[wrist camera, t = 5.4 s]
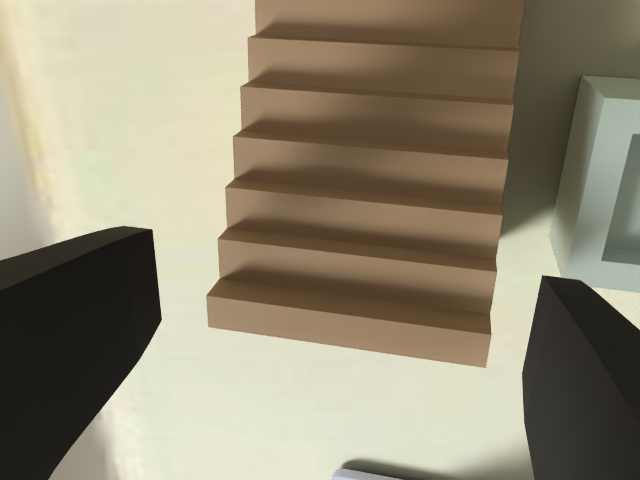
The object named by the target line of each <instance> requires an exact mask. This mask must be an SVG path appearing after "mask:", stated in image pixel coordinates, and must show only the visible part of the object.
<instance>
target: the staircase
mask: <svg viewBox="0 0 640 480" xmlns="http://www.w3.org/2000/svg"><path fill="white" fill-rule="evenodd" d="M524 6H525V0H255V19H256V35H254V36H251V37H248V69H249V82H248V83H246V84H245V85H243V86H241V87H240V91H241V122H242V130H241V131H240V132H239V133H237V134H236V135H235V136H233V152H234V177H235V179H234V180H233V181H232V182H231V183H230V184H228V185H227V186H226V187H225V190H226V212H227V229H226V230H225V231H224V233H223V234H222V235H221V236H220V237H219V238H218V254H219V273H220V279H219V280H218V282H217V283H216V284H215V285H214V287H213V288H212V289H211V291H210V292H209V293H208V294H207V296H206V298H207V313H208V327H212V328H219V329H225V330H232V331H239V332H246V333H252V334H259V335H266V336H273V337H280V338H286V339H293V340H300V341H307V342H313V343H320V344H327V345H334V346H340V347H347V348H354V349H361V350H368V351H374V352H381V353H388V354H395V355H401V356H408V357H415V358H422V359H428V360H435V361H442V362H449V363H456V364H462V365H469V366H476V367H483V368H486V363H487V357H488V351H489V346H490V340H491V323H490V311H491V305H492V299H493V293H494V287H495V281H496V275H497V267H496V254H497V248H498V242H499V236H500V230H501V224H502V218H503V213H502V206H501V204H502V198H503V192H504V186H505V180H506V174H507V167H508V161H509V159H508V154H507V149H508V142H509V136H510V130H511V124H512V117H513V111H514V103H513V100H512V99H513V93H514V87H515V80H516V74H517V68H518V61H519V55H520V51H519V49H518V44H519V38H520V31H521V25H522V19H523V12H524Z"/></svg>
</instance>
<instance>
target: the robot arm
mask: <svg viewBox="0 0 640 480" xmlns="http://www.w3.org/2000/svg"><path fill="white" fill-rule="evenodd" d="M161 320H162V318H161V308H160V298H159V289H158V279H157V270H156V260H155V250H154V241H153V231H152V229H144V228H136V227H127V226H121V227H114V228H109V229H105V230H101V231H97V232H93V233H89V234H86V235H83V236H79V237H76V238H73V239H69V240H66V241H63V242H60V243H56V244H53V245H50V246H47V247H44V248H41V249H38V250H34V251H31V252H28V253H25V254H21V255H19V256H15V257H11V258H8V259H4V260H1V261H0V480H48V479H49V478H50V476H51V474H52V473H53V471H54V470H55V468H56V467H57V465H58V464H59V463H60V461H61V460H62V459H63V457H64V456H65V454H66V453H67V452H68V450H69V449H70V448H71V446H72V445H73V444H74V442H75V441H76V440H77V439H78V437H79V436H80V435H81V434H82V432H83V431H84V430H85V429H86V427H87V426H88V425H89V424H90V422H91V421H92V420H93V419H94V417H95V416H96V415H97V414H98V412H99V411H100V410H101V409H102V407H103V406H104V405H105V404H106V402H107V401H108V400H109V399H110V397H111V396H112V395H113V394H114V392H115V391H116V390H117V388H118V387H119V386H120V385H121V383H122V382H123V381H124V379H125V378H126V377H127V376H128V374H129V373H130V372H131V370H132V369H133V368H134V366H135V365H136V364H137V362H138V361H139V360H140V358H141V356H142V355H143V353H144V351H145V349H146V348H147V346H148V344H149V343H150V341H151V339H152V337H153V335H154V333H155V332H156V330H157V328H158V326H159V324H160V322H161ZM522 381H523V406H524V423H525V429H526V435H527V440H528V445H529V451H530V456H531V462H532V467H533V472H534V478H535V480H640V330H639V329H638V328H637V327H636V326H634V325H633V324H632V323H631V322H630V321H629V320H627V319H626V318H625V317H624V316H623V315H622V314H620V313H619V312H618V311H617V310H616V309H615V308H614V307H613V306H611V305H610V304H609V303H608V302H607V301H606V300H605V299H603V298H602V297H601V296H600V295H599V294H598V293H596V292H595V291H594V290H593V289H592V288H590V287H589V286H588V285H587V284H585V283H584V282H582V281H581V280H577V279H569V278H560V277H552V276H543V275H542V279H541V284H540V289H539V293H538V298H537V303H536V308H535V313H534V318H533V323H532V328H531V333H530V337H529V342H528V347H527V352H526V357H525V362H524V367H523V372H522ZM331 480H402V479H397V478H392V477H386V476H381V475H376V474H370V473H365V472H359V471H354V470H349V469H339V470H336V471H335V472H334V473H333V475H332V479H331Z"/></svg>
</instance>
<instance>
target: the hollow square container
mask: <svg viewBox="0 0 640 480" xmlns="http://www.w3.org/2000/svg"><path fill="white" fill-rule="evenodd" d="M549 238H550V241H551V245H552V248H553V251H554V255H555V258H556V261H557V265H558V268H559V271H560V275H561V278H569V279H577V280H581V281H582V282H584V283H585V284H587V285H588V286H589V287H596V288H604V289H613V290H621V291H629V292H638V293H640V79H635V78H618V77H601V76H583V75H582V76H581V81H580V86H579V91H578V96H577V101H576V106H575V110H574V115H573V120H572V125H571V130H570V135H569V140H568V145H567V150H566V155H565V160H564V165H563V169H562V174H561V179H560V184H559V189H558V194H557V199H556V204H555V209H554V214H553V219H552V224H551V229H550V233H549Z"/></svg>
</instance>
